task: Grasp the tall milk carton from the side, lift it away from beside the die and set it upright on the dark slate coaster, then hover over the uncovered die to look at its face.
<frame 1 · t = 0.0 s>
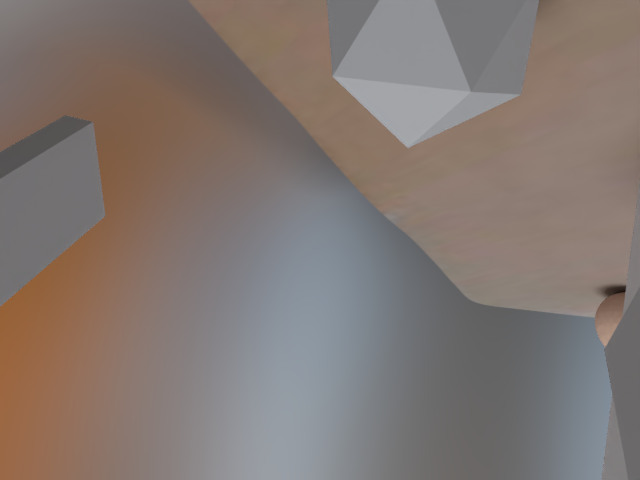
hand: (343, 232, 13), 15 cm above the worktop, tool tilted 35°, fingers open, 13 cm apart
egg: (630, 291, 52), on the worktop
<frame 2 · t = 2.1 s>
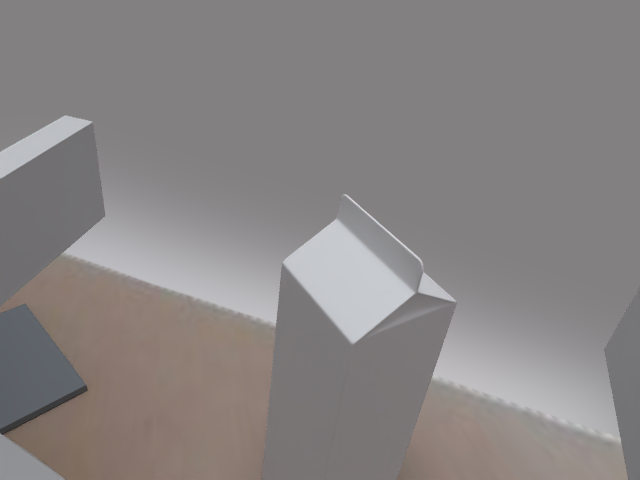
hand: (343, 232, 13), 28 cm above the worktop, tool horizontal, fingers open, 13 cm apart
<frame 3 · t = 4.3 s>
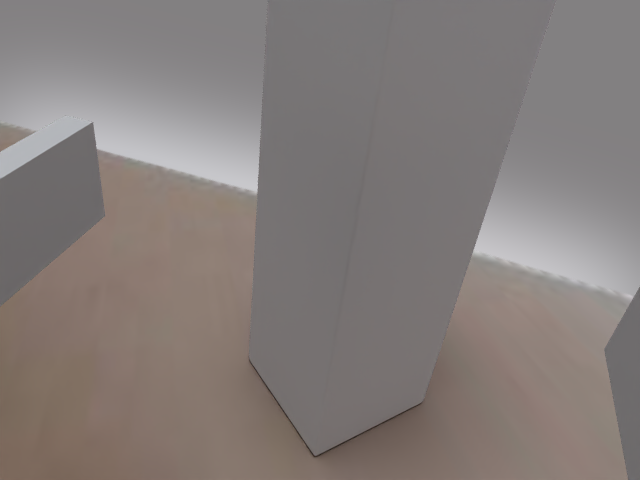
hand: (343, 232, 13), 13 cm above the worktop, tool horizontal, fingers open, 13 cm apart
milk: (333, 383, 26), on the worktop
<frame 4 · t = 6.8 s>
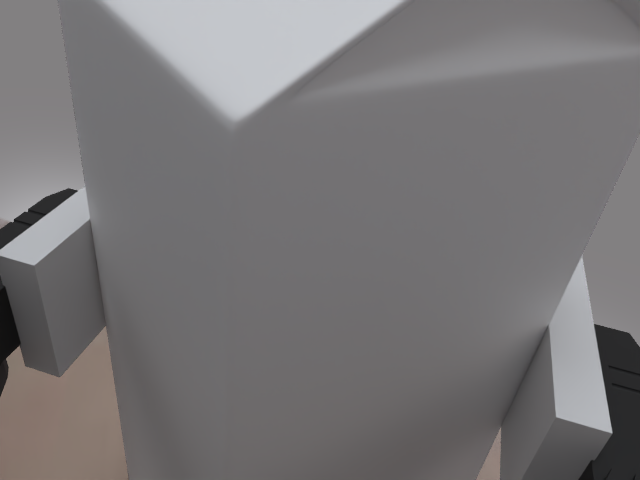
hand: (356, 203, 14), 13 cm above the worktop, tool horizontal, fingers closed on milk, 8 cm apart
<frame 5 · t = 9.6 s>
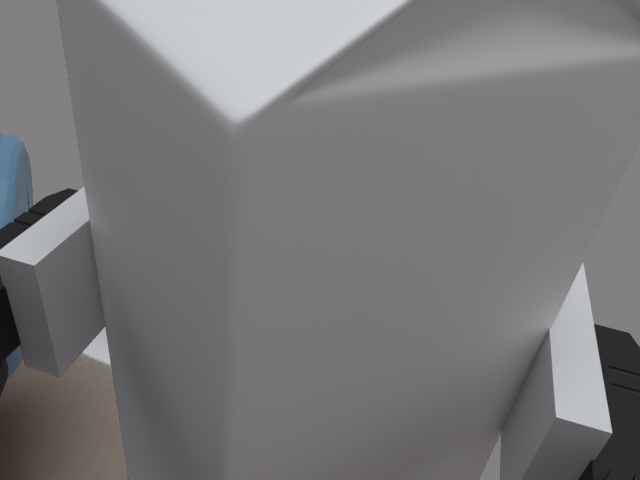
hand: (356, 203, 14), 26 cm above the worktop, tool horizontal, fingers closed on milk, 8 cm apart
when the fingers open (14 cm above the worktop, at t = 12.9 s): milk stays where it is, resting on coaster.
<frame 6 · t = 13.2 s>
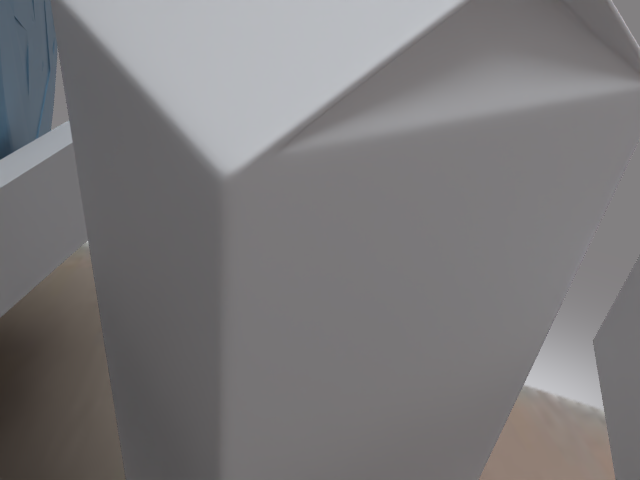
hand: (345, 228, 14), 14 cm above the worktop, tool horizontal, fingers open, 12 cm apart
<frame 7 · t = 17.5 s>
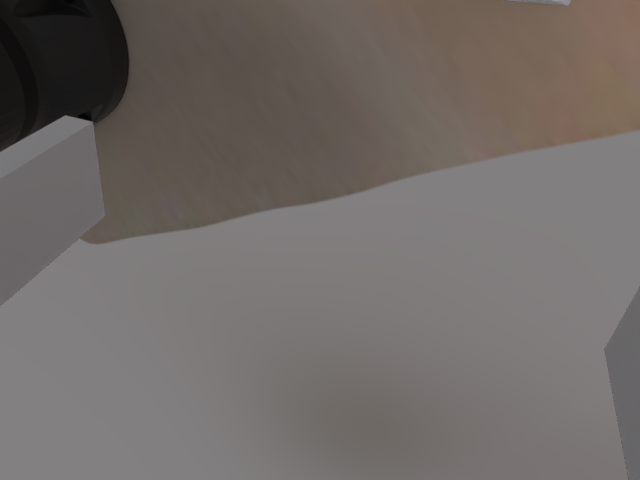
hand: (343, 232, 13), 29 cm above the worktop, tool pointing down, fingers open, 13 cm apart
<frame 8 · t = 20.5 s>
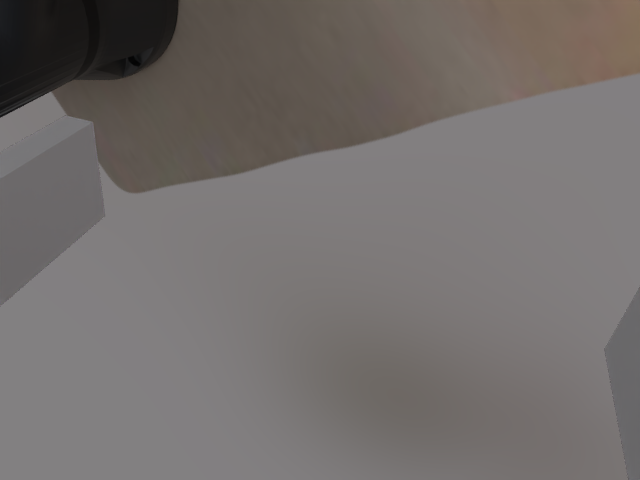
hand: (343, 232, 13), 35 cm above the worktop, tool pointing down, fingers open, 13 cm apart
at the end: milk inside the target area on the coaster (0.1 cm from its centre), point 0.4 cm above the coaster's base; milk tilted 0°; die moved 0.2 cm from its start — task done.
